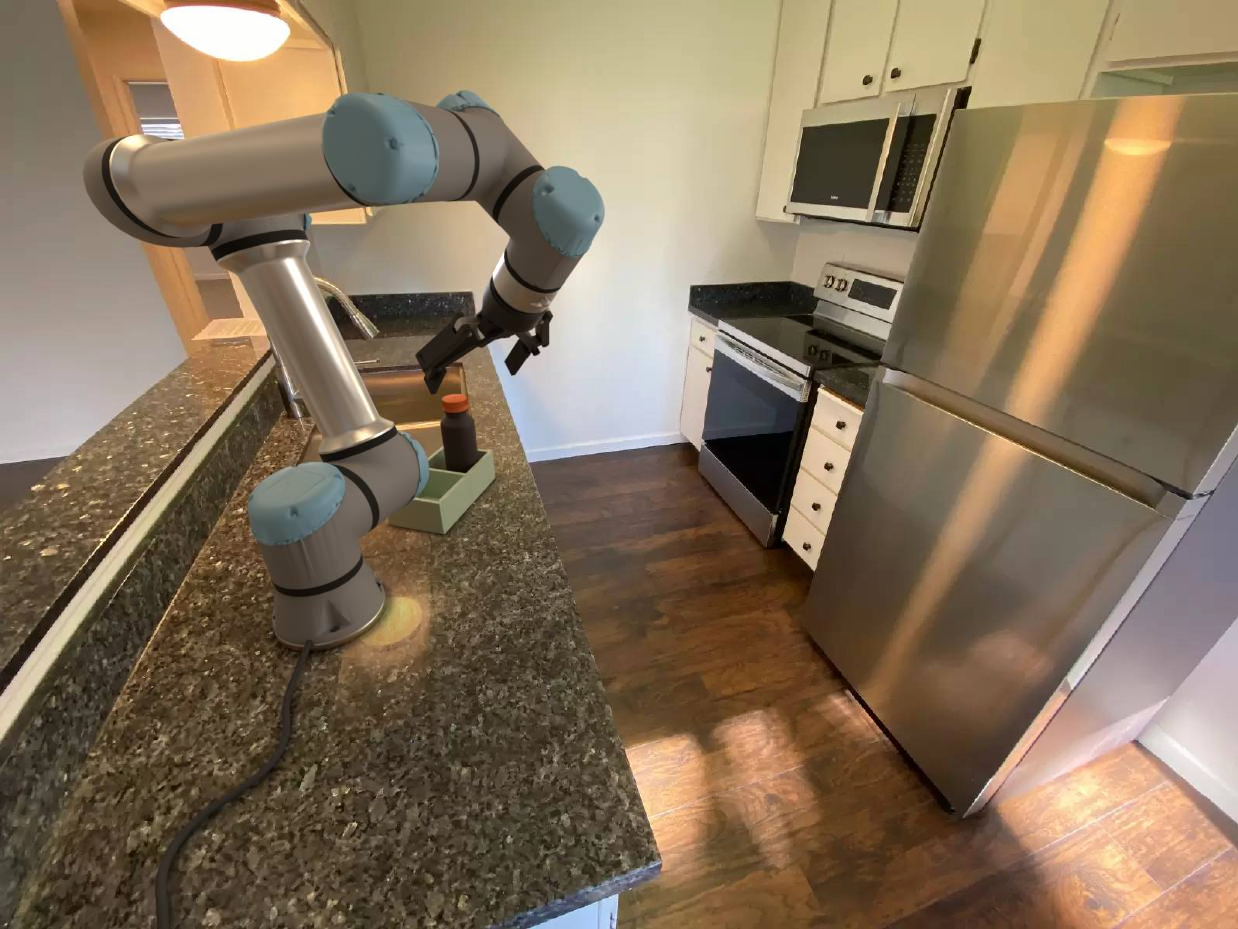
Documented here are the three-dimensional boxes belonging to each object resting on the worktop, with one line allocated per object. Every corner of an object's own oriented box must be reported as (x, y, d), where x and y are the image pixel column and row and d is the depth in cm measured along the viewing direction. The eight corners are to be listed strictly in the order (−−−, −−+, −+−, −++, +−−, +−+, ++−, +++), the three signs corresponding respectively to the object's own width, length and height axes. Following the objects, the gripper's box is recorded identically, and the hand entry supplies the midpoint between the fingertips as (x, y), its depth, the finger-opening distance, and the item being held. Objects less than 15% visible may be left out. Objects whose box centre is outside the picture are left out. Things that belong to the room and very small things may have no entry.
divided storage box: (444, 534, 98) (439, 503, 95) (389, 525, 100) (383, 494, 97) (495, 477, 118) (492, 450, 114) (448, 470, 120) (444, 444, 116)
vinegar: (483, 476, 117) (474, 392, 107) (478, 492, 111) (468, 404, 101) (453, 476, 116) (441, 391, 107) (445, 492, 110) (432, 404, 101)
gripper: (438, 331, 55) (402, 418, 72) (611, 304, 71) (548, 380, 87) (408, 272, 56) (379, 371, 73) (585, 258, 71) (528, 342, 88)
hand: (471, 376), depth 80 cm, fingers open, 13 cm apart
